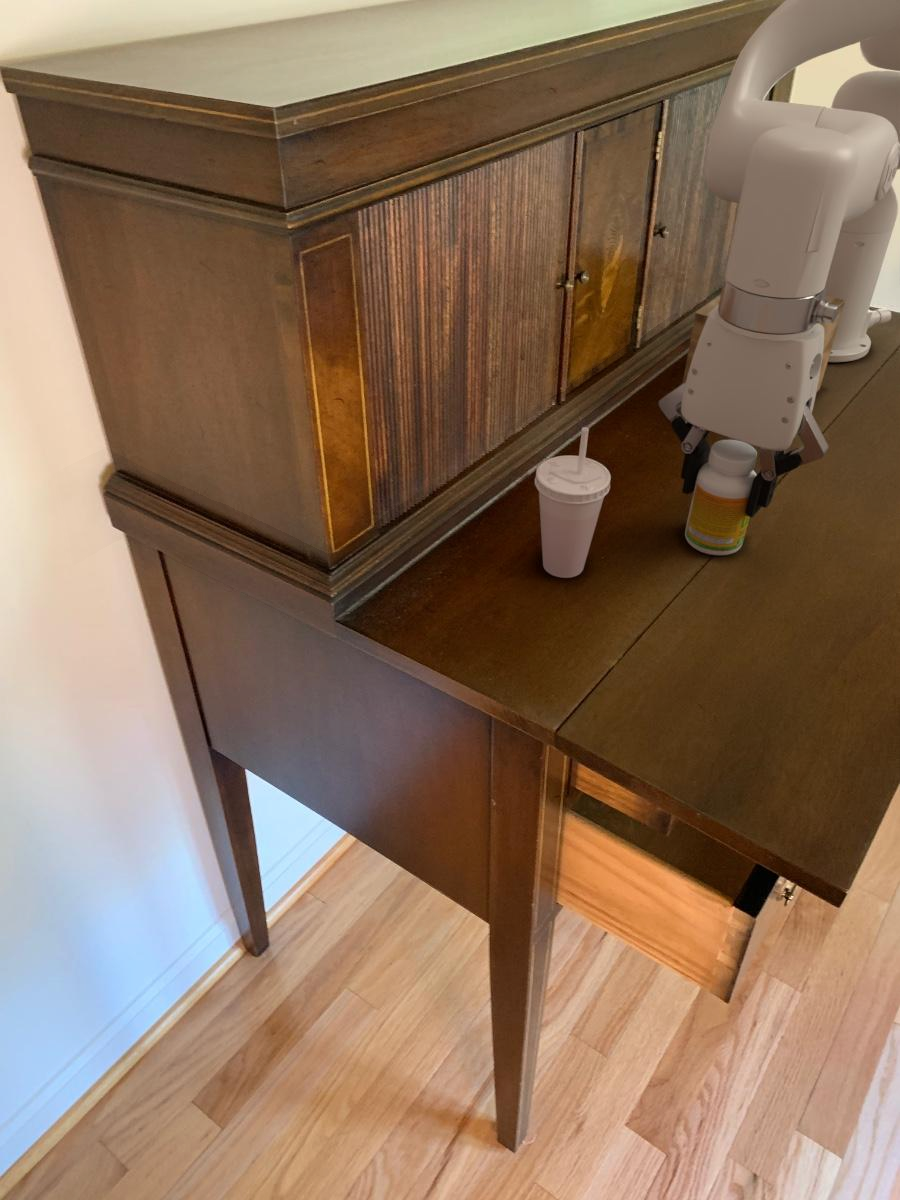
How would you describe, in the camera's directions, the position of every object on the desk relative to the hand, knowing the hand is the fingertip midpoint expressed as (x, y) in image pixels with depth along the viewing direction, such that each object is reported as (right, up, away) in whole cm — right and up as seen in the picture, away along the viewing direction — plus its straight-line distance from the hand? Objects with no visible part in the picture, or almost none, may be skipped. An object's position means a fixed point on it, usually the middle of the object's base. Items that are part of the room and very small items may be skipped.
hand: (723, 496), depth 84 cm
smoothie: (-15, -6, 0) cm, 16 cm away
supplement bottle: (0, -4, +3) cm, 5 cm away
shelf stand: (+11, +15, +26) cm, 32 cm away
